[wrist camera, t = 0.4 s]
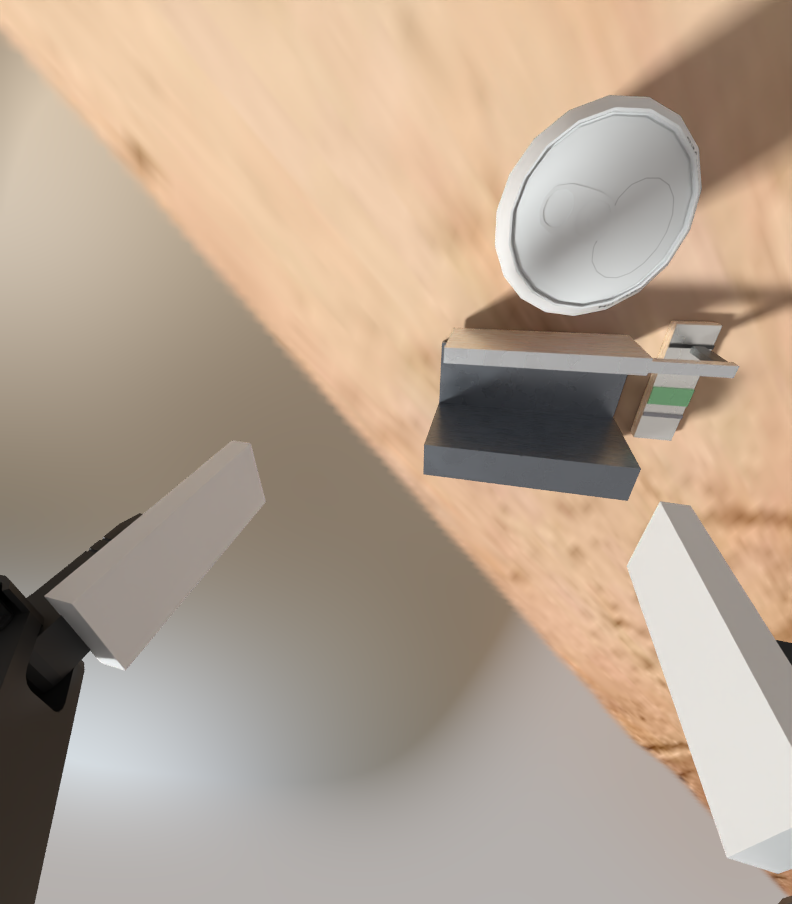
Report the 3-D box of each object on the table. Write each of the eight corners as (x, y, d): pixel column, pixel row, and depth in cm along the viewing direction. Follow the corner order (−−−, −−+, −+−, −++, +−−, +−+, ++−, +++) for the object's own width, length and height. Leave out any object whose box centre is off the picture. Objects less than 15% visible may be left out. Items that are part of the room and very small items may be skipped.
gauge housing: (444, 313, 33) (426, 340, 26) (714, 321, 28) (788, 358, 21) (438, 425, 39) (423, 474, 32) (660, 447, 34) (701, 510, 27)
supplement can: (643, 167, 25) (778, 118, 13) (578, 292, 30) (630, 346, 17) (528, 132, 25) (551, 53, 13) (483, 261, 30) (467, 292, 18)
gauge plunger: (453, 327, 32) (444, 347, 27) (700, 337, 28) (740, 363, 23) (452, 341, 33) (443, 363, 28) (693, 353, 29) (731, 381, 24)
